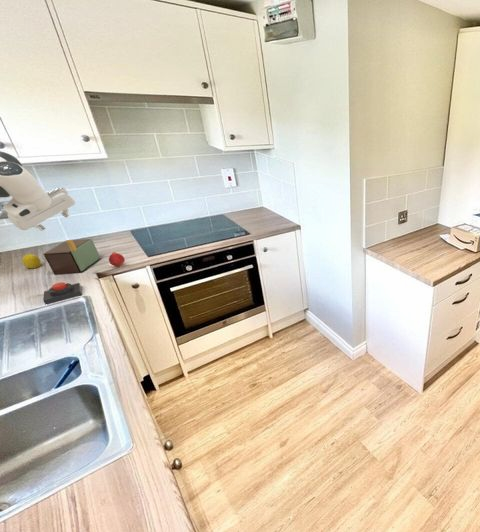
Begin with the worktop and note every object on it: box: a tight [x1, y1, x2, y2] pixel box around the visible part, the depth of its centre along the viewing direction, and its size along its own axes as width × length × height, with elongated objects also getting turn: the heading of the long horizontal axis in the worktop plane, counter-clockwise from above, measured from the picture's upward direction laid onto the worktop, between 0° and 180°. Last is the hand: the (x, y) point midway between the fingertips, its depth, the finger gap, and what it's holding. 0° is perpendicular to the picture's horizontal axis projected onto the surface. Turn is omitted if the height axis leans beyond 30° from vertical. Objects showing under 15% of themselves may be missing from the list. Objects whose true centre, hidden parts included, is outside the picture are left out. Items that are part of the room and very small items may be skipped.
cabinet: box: [43, 238, 103, 276], centre depth 156 cm, size 16×11×11 cm
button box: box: [42, 282, 83, 306], centre depth 134 cm, size 11×9×4 cm
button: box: [51, 281, 67, 291], centre depth 133 cm, size 4×4×2 cm
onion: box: [108, 251, 126, 267], centre depth 157 cm, size 6×6×8 cm
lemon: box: [21, 253, 42, 269], centre depth 153 cm, size 6×6×8 cm
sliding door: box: [65, 238, 101, 271], centre depth 155 cm, size 15×1×15 cm, turn 13°
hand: (54, 222), depth 136 cm, fingers open, 8 cm apart
